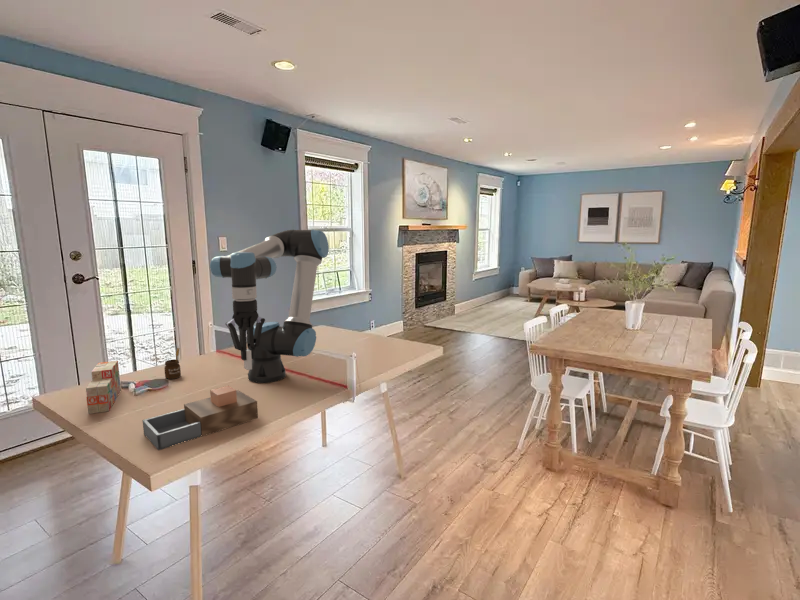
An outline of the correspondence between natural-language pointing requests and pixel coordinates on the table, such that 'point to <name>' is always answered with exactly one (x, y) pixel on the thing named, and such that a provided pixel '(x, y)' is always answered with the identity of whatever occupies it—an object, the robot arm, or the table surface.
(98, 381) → the stack of blocks
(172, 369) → the utensil holder
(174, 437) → the box
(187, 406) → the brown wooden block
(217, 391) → the salmon orange block
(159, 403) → the table surface
